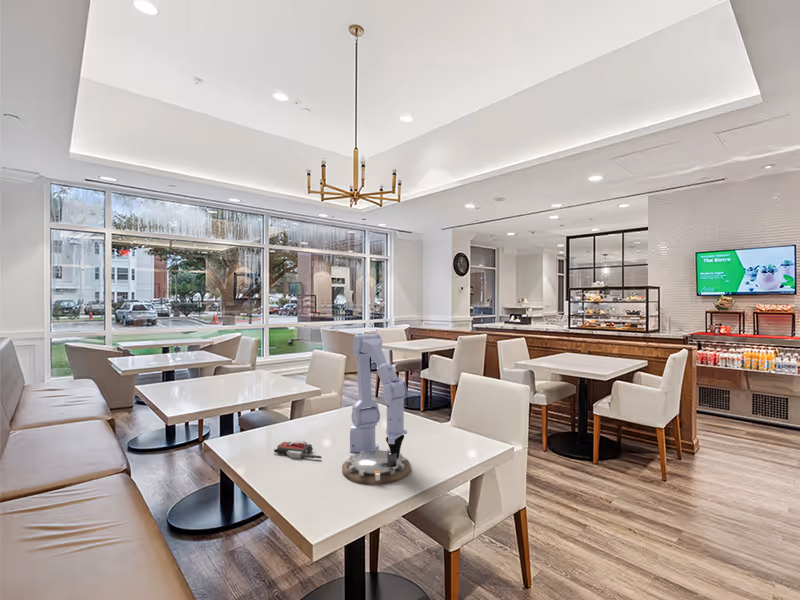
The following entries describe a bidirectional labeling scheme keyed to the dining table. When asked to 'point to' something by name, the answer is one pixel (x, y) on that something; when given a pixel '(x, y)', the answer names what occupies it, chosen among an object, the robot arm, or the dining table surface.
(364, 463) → the sprocket
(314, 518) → the dining table surface
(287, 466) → the dining table surface
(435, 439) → the dining table surface
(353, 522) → the dining table surface
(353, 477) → the sprocket base
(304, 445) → the walkie-talkie
